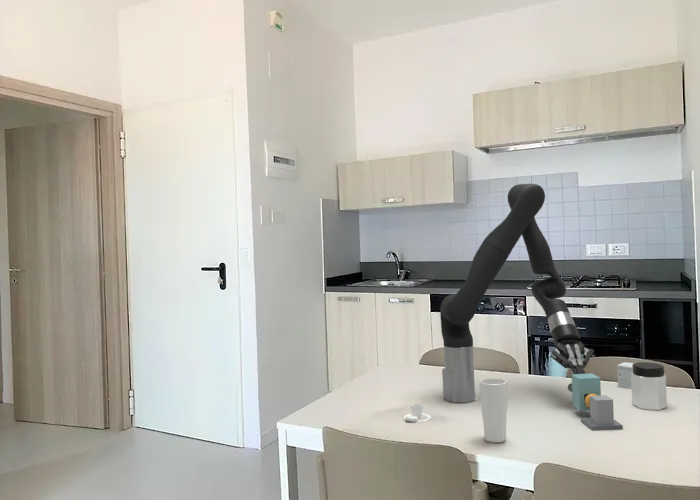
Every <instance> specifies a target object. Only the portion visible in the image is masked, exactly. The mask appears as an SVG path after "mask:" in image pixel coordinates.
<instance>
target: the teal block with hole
mask: <svg viewBox="0 0 700 500" xmlns="http://www.w3.org/2000/svg"><path fill="white" fill-rule="evenodd" d="M571 383H572V392H571V397H572V402H571V403H572V407H574V408H575V409H577V410H578V412H579V411H580V412H581V411H582V412H583V411H586V412H587V411H590V408H588V407H587V406H586V404H585V401H584V394H596V395H598V396H602V389H601V387H602V386H601V377H600V376H597V375H596V374H594V373H585V374H573V373H572V374H571Z"/></svg>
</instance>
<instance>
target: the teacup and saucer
mask: <svg viewBox="0 0 700 500" xmlns="http://www.w3.org/2000/svg"><path fill="white" fill-rule="evenodd" d="M410 408H411V413H407V414H405V415H404V416H403V419H404V420H405V421H407V422H411V423H423V422H427V421H430V420H431V419H432V416H431V415H429V414H428V413H424V412H423V408H424V407H423V404H422V403H418V402H417V403H411V405H410ZM422 416H424V417H426V419H422V420H419V419H421V418H422Z"/></svg>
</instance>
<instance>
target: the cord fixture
mask: <svg viewBox="0 0 700 500" xmlns="http://www.w3.org/2000/svg"><path fill="white" fill-rule="evenodd" d="M567 390H568V391H569V392H571V393H572V382H571V383H569V384H567ZM584 401H585V404H586V406H587V407H588V408H590V410H589V411H590V412H589V413H590V417H580V422H581V424H583V425H584V426H586V427H587V428H588V429H590V430H591V431H607V430H608V431H611V430H624V425H623V424H622V423H620V422H618V421H617V420H615V418H614V417H615V415H614V414H615V413H614V399H613V398H611V397H610V396H608V395H601V396H598V395H596V394H584Z"/></svg>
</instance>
